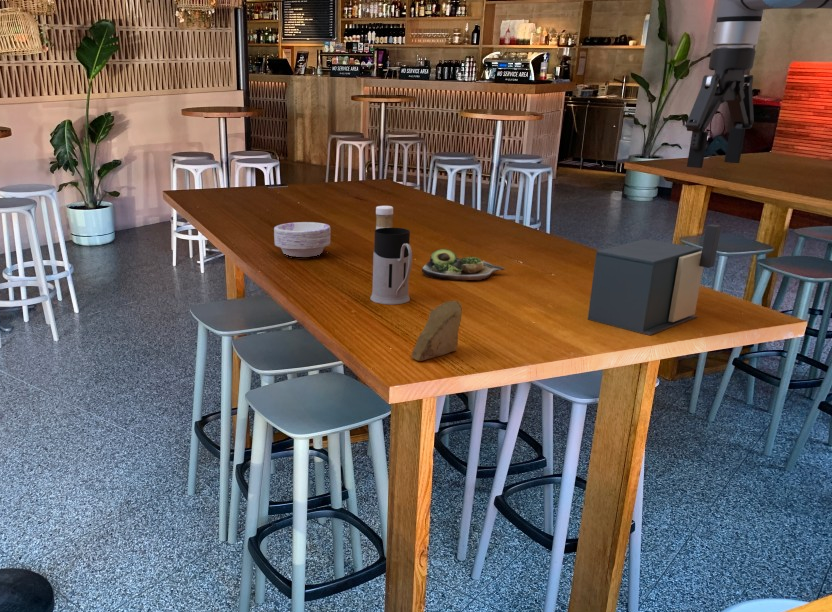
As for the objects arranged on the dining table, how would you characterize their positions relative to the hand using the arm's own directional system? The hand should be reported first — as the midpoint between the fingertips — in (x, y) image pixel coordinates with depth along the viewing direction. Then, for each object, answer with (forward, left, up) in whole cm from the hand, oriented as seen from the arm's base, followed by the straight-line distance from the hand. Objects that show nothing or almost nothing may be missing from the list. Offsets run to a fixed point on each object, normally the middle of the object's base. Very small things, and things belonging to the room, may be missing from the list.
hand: (713, 165), depth 155 cm
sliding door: (-4, +9, -29) cm, 30 cm away
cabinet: (+3, +13, -29) cm, 33 cm away
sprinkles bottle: (+76, +15, -30) cm, 83 cm away
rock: (+15, +61, -30) cm, 70 cm away
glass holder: (+43, +43, -30) cm, 68 cm away
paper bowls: (+92, +30, -30) cm, 102 cm away
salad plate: (+52, +13, -30) cm, 62 cm away
